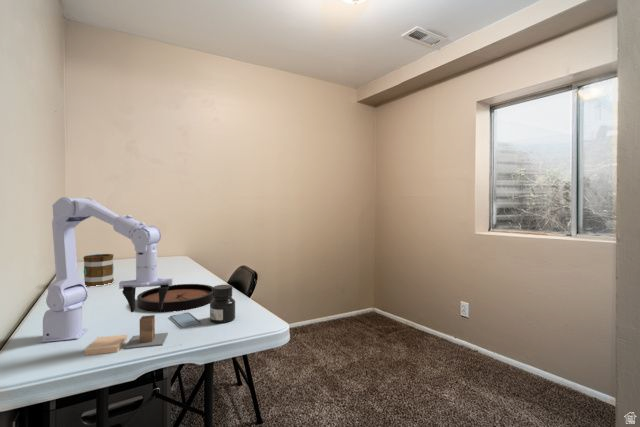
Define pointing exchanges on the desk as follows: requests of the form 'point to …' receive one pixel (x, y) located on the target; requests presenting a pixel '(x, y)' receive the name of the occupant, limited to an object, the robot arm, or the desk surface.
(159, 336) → the mat
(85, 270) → the mug
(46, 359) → the desk surface
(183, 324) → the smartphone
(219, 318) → the ink bottle
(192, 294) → the wall clock
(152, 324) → the block
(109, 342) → the clay tile
